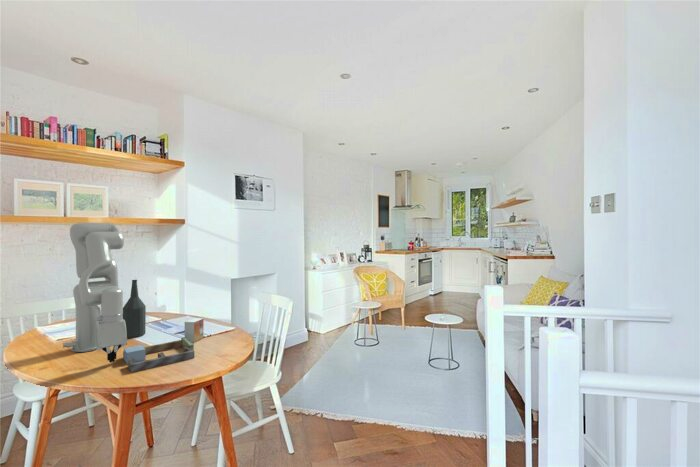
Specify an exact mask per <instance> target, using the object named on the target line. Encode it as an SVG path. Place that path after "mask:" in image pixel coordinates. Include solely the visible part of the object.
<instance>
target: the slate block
mask: <svg viewBox="0 0 700 467" xmlns="http://www.w3.org/2000/svg"><path fill="white" fill-rule="evenodd" d="M144 347H145V346H144V345H143V344H139V345H135V346H130V347H124V348H123V351H124V358H123V360H124V362H125V363H126V365H128V359H133V358H134V362H135V363H137V362H141V361H146V358H147V354H146V349H145V348H144Z"/></svg>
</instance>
